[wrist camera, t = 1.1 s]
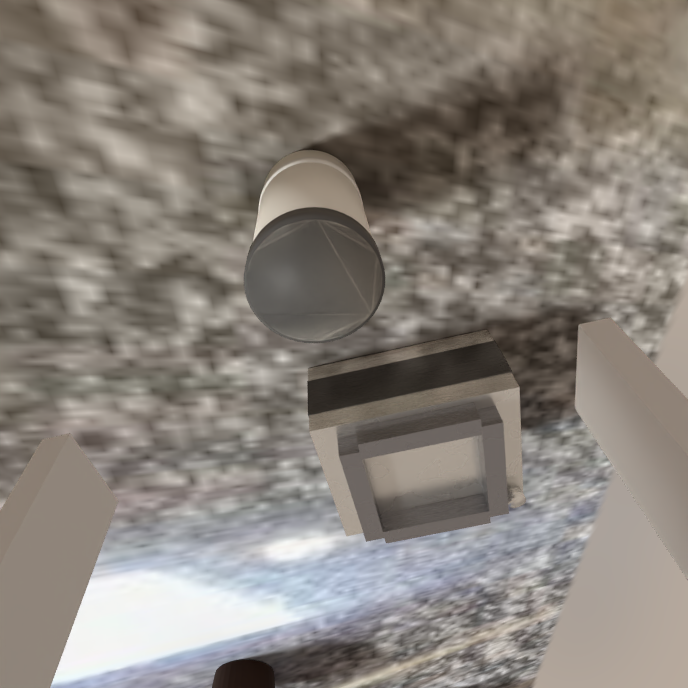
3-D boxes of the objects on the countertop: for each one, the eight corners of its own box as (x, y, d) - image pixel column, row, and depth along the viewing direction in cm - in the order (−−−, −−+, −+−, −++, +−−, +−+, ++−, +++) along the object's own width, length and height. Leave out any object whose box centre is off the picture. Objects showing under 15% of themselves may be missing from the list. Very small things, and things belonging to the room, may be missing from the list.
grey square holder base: (340, 469, 40) (347, 555, 34) (307, 368, 34) (308, 448, 28) (495, 437, 39) (531, 519, 33) (487, 328, 34) (529, 402, 28)
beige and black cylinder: (276, 255, 30) (267, 355, 22) (247, 161, 27) (223, 236, 19) (368, 233, 30) (395, 327, 21) (348, 136, 26) (371, 201, 18)
